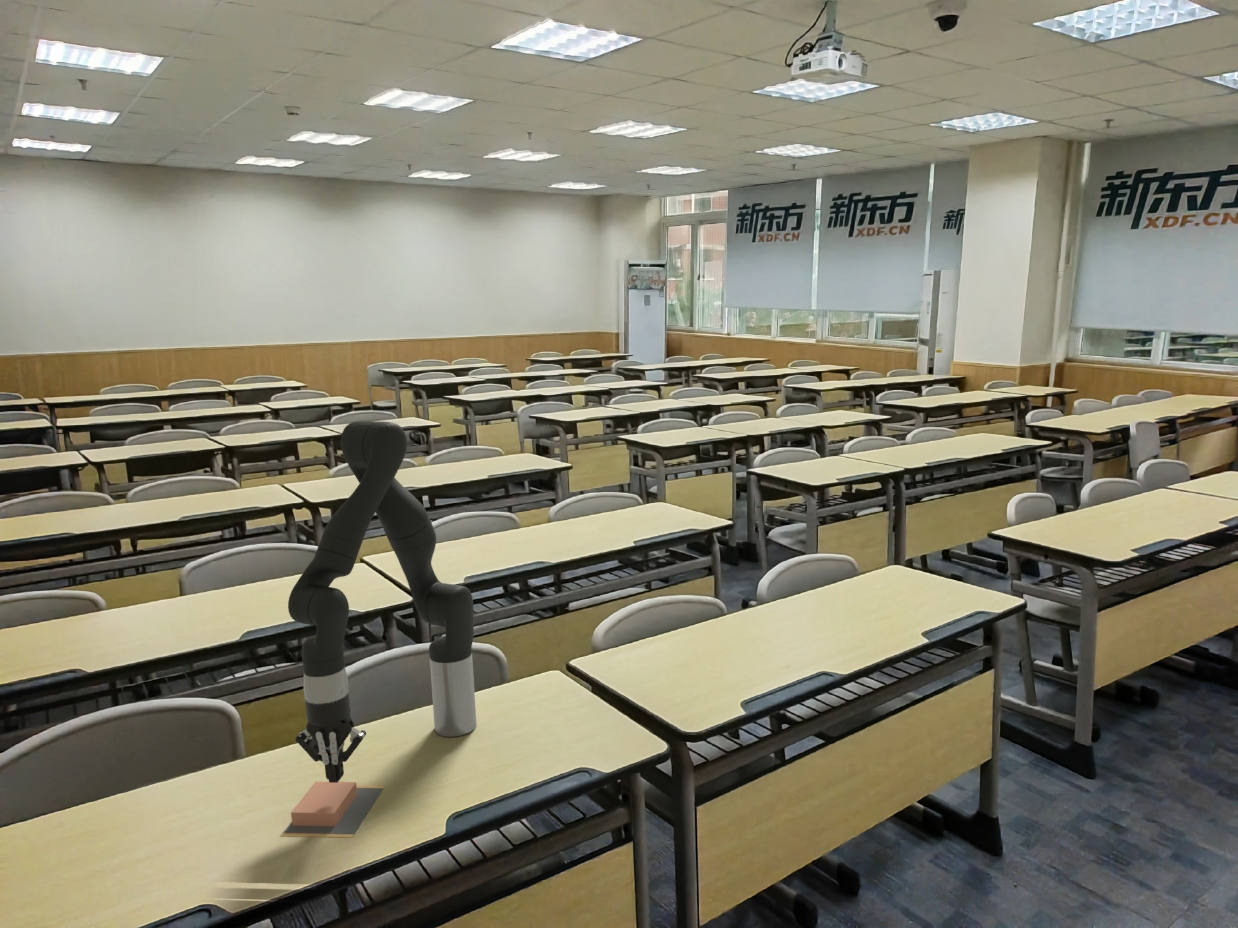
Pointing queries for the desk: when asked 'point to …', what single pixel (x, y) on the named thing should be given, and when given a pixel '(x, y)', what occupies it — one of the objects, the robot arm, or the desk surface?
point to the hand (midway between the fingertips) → (335, 780)
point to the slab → (324, 804)
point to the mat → (348, 820)
